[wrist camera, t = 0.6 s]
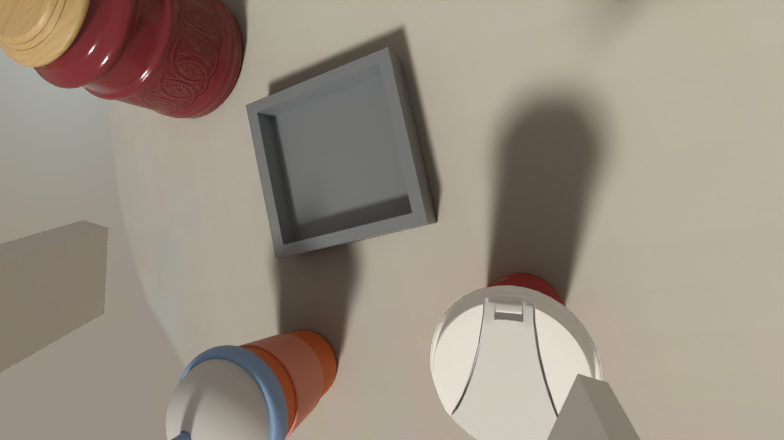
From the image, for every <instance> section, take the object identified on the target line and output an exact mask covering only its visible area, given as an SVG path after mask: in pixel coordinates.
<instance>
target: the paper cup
mask: <svg viewBox="0 0 784 440" xmlns="http://www.w3.org/2000/svg"><path fill="white" fill-rule="evenodd" d="M430 362H431V371H432V376H433V381H434V384H435V386H436V389H437V392H438V395H439V397H440V400H441V402H442V404H443V406H444V408H445V409H446V411H447V412H448V414H449V415H451V414H452V415H451V417H452V418H453V419H454V420H455V421H456V422H457V423H458V424H459V425H460V426H461V427H462V428H463V429H464V430H465V431H466V432H468V433H469V434H470V435H471V436H472V437H474V438H475V439H477V440H547V439H548V436H549V434H550V432H551V430H552V428H553V426H554V424H555V421H556V419H557V417H558V415H559V413H560V411H561V408H562V406H563V404H564V402H565V400H566V398H567V395H568V393H569V391H570V389H571V387H572V385H573V383H574V380H575V378H576V376H577V374H581V375H585V376H588V377H591V378H594V379H597V380H601V381H602V371H601V364H600V360H599V355H598V352H597V350H596V347H595V345H594V343H593V340H592V338H591V337H590V335H589V333H588V332H587V330H586V329H585V327H584V326H583V324H582V323H581V322H580V321H579V320H578V319H577V317H576V316H575V315H574V314H573V313H572V312H570V311H569V310H568V309H567V308H566V307H565V305H564V303H563V301H562V300H561V298H560V297H559V295H558V294H557V292H556V291H555V290H554V288H553V287H552V286H551V285H550V284H549V283H547V282H546V281H545V280H543V279H542V278H540V277H538V276H535V275H532V274H528V273H514V274H510V275H507V276H504V277H502V278H500V279H499V280H497V281H495V282H494V283H492V284H491V285H490V286H488V287H486V288H483V289H480V290H477V291H474V292H472V293H470V294H468V295H466V296H464V297H462V298H461V299H460V300H458V301H457V302H456V303H454V304H453V305H452V306H451V307H450V308H449V310H448V311H447V312H446V313H445V314H444V316H443V317H442V319H441V320H440V322H439V323H438V326H437V328H436V330H435V333H434V336H433V340H432V344H431V353H430Z"/></svg>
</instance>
